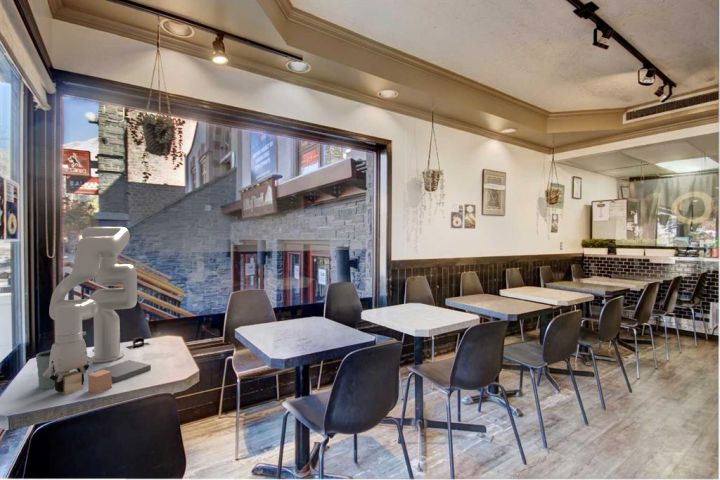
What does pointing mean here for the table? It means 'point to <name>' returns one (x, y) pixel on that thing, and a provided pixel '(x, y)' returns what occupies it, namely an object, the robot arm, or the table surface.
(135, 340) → the black frame block
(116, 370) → the baseplate
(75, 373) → the maple block
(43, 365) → the green cup
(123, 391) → the table surface
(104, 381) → the terracotta block
